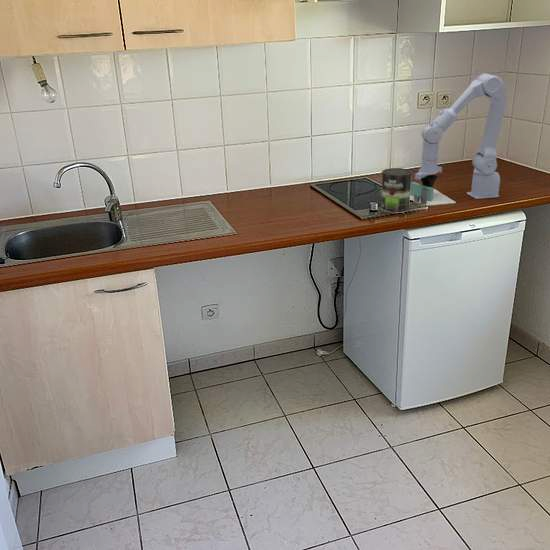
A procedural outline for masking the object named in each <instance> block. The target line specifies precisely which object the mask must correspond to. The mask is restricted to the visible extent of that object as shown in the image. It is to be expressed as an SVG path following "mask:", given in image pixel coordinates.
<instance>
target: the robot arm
mask: <svg viewBox="0 0 550 550" xmlns="http://www.w3.org/2000/svg"><path fill="white" fill-rule="evenodd" d="M504 86H505V82H504V80H502V79H501V78H500V77H499V76H498V75H493V74H489V73H486V72H484V73H481V74H479V75H478V76H477V77H476V78H475V79H473V80H472V82H471V83H470V84H469V85H468V87H467V88H466V89H465V90H464V92H463V93H461V95H460V96H459V98H458V99H456V101H455V102H454V103H453V104H452V105H451V106H450V108H449V107H448V108H444V109H443V110H442V109H441V110H440V111H439V112H438V113H439V114H438V115H437V116H436V117H435V118H434V120H431V121H430V122H429V124H428V125H426V126H425V127H424V128H423V129H422V132H421V137H422V139H423V142H422V151H421V152H422V153H421V165H420V166H421V167H420V168H418V172H417V173H415V174H414V179H415V180H418V181H421V183H422V185H425V186H428V187H431V188H433V185H434V183H435V182H436V180H437V179H438V176H437V175H436V174H439V173H441V174H442V172H443V167H442V166H438V159H439V149H440V148H439V146H440V145H439V143H440V141H441V140H442V137H443V134H444V133H445V132H446V131H447V130H448V129H449V128H450V127H451V126H452V125H453V124H454V123H455V122H456V121H457V117H458V114H459V113H460V112H461V111H463V110H464V108H465V107H466V106H467V105H469V104H470V102H472V101H473V100H474V99H477V98H480V97H484V96H485V97H486V98H487V99H488V100H489V102H490V103H489V108H488V113H487V117H486V121H485V125H484V130H483V134H482V138H481V142H480V145H479V147H477V150H476V153H475V155H474V156H473V158H472V161H471V162H472V163H471V164H472V166H473V167H474V169H473V171H472V180H471V181H472V182H471V191H467V192H466V194H467V195H468V196H470V197H472V198H473V199H476V200H480V199H490V198H491V199H492V198H500V195H499V191H500V184H501V176H500V174H499V172H497V171H496V170H497V167H498V162H497V158H498V157H497V156H498V154H497V150H496V147H497V144H498V140H499V135H500V129H501V126H502V122H503V118H504V114H505V110H506V107H507V102H508V96H507V92H506V88H505V87H504Z"/></svg>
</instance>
